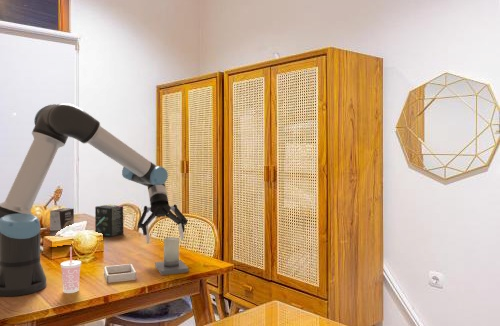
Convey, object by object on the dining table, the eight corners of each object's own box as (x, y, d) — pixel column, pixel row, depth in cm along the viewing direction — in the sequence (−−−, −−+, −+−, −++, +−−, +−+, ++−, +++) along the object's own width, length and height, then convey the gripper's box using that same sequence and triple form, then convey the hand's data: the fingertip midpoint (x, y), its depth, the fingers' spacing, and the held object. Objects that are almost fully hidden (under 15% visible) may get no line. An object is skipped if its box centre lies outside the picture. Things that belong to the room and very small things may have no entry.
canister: (165, 267, 155) (165, 241, 154) (162, 263, 160) (162, 237, 160) (180, 266, 157) (180, 239, 157) (176, 262, 162) (177, 236, 162)
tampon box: (123, 234, 216) (123, 205, 216) (109, 237, 208) (109, 208, 208) (109, 231, 222) (109, 204, 221) (94, 234, 214) (94, 206, 214)
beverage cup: (58, 294, 131) (58, 250, 130) (63, 287, 137) (62, 245, 136) (79, 293, 132) (79, 249, 131) (83, 286, 138) (82, 244, 137)
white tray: (107, 282, 142) (107, 275, 142) (104, 273, 152) (104, 266, 152) (136, 279, 146) (136, 272, 146) (131, 270, 156) (131, 263, 156)
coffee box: (62, 247, 189) (61, 211, 188) (49, 246, 190) (49, 210, 189) (74, 242, 197) (74, 208, 197) (62, 241, 199) (62, 207, 198)
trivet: (161, 275, 151) (161, 271, 151) (155, 266, 162) (155, 262, 162) (188, 272, 155) (188, 268, 155) (180, 263, 166) (180, 259, 166)
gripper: (185, 201, 188) (194, 242, 175) (127, 204, 178) (132, 247, 165) (188, 191, 183) (197, 232, 170) (129, 193, 173) (134, 237, 160)
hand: (165, 240), depth 168 cm, fingers open, 13 cm apart
